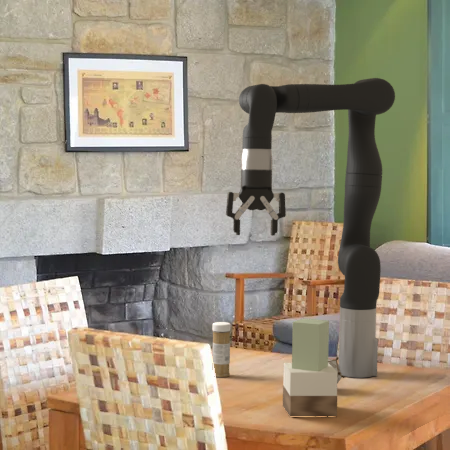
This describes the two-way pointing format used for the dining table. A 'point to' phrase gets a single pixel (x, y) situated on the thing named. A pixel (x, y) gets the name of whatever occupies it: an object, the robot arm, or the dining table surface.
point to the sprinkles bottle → (221, 348)
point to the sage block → (310, 344)
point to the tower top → (310, 381)
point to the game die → (336, 368)
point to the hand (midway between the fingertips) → (255, 235)
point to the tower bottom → (309, 405)
